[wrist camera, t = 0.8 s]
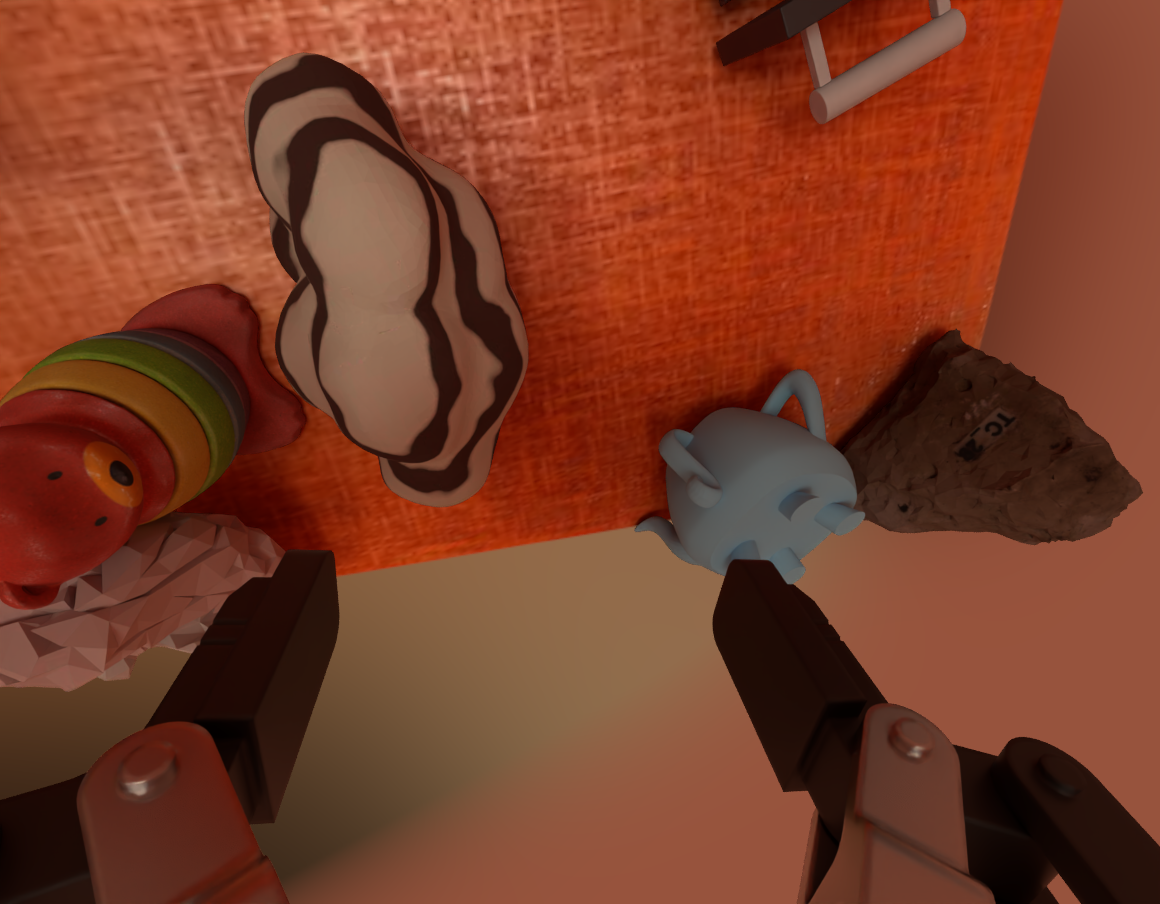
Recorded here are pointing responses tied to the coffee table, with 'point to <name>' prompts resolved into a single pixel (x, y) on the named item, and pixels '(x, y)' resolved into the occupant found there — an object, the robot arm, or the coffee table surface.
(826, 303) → the coffee table surface
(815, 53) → the drawer
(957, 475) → the stone
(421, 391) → the sculpture
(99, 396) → the stacking bear
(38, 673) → the pale pink crumpled piece
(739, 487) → the teapot
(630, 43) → the coffee table surface
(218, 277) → the coffee table surface
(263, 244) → the coffee table surface
